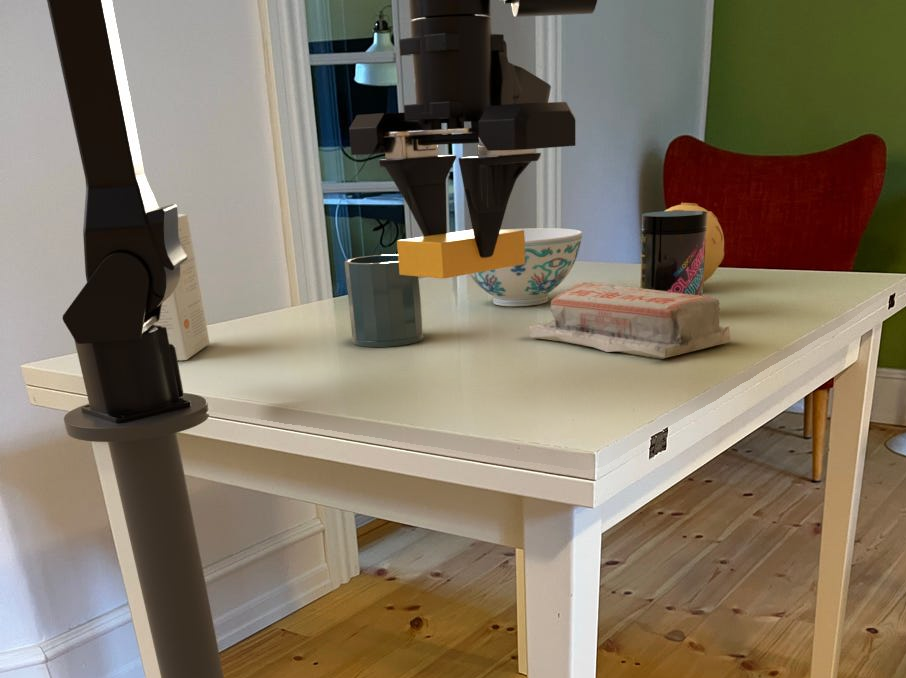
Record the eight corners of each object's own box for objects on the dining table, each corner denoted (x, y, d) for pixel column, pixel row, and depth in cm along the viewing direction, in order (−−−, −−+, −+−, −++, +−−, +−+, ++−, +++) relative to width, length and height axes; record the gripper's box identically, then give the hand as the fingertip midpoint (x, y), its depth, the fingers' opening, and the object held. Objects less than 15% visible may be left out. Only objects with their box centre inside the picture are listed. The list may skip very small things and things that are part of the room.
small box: (153, 347, 106) (127, 215, 100) (211, 345, 106) (189, 212, 100) (125, 363, 99) (96, 223, 93) (187, 360, 99) (162, 219, 93)
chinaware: (447, 298, 126) (443, 234, 123) (558, 289, 129) (557, 225, 126) (477, 316, 113) (474, 244, 110) (600, 305, 116) (600, 234, 113)
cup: (384, 350, 99) (377, 265, 95) (339, 342, 103) (330, 261, 100) (437, 337, 103) (432, 256, 100) (391, 331, 108) (385, 253, 104)
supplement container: (651, 324, 104) (655, 217, 99) (630, 314, 110) (632, 213, 105) (712, 319, 105) (718, 213, 100) (687, 310, 111) (692, 209, 106)
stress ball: (640, 296, 121) (642, 207, 116) (643, 284, 129) (645, 201, 125) (723, 294, 119) (729, 204, 114) (721, 282, 128) (726, 198, 123)
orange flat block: (443, 278, 73) (441, 242, 72) (399, 274, 76) (396, 240, 75) (525, 264, 79) (524, 230, 77) (481, 260, 82) (479, 228, 81)
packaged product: (737, 290, 91) (666, 306, 85) (734, 344, 93) (664, 362, 88) (596, 276, 103) (526, 289, 98) (595, 324, 106) (527, 339, 100)
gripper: (626, 9, 69) (622, 249, 76) (443, 35, 81) (454, 240, 88) (517, 3, 62) (523, 266, 69) (335, 32, 74) (356, 254, 81)
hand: (462, 255), depth 77 cm, fingers closed on orange flat block, 5 cm apart
